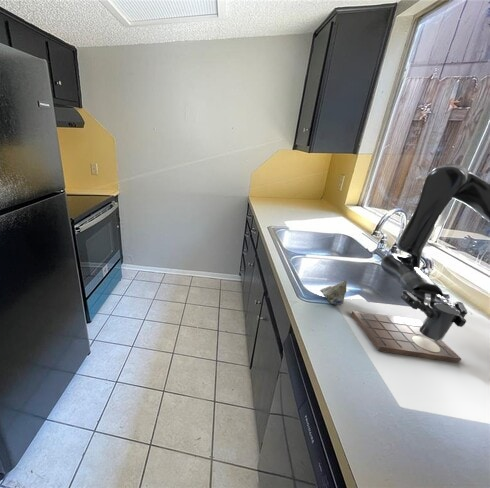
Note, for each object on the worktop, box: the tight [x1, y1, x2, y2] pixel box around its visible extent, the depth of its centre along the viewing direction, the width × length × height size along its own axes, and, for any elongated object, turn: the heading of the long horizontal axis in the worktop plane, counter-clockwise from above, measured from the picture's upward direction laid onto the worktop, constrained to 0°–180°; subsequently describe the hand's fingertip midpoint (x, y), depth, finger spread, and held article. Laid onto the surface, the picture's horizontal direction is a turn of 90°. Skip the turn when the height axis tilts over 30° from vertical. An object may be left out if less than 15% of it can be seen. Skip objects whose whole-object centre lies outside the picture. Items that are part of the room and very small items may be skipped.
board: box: [350, 310, 462, 364], centre depth 78 cm, size 20×16×2 cm
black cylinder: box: [419, 303, 459, 341], centre depth 70 cm, size 5×5×9 cm
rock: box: [319, 279, 348, 305], centre depth 92 cm, size 11×6×10 cm
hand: (448, 320), depth 67 cm, fingers closed on black cylinder, 5 cm apart
